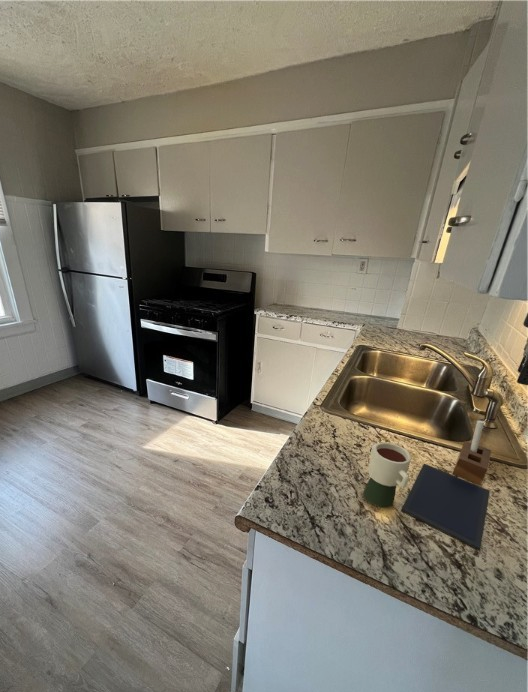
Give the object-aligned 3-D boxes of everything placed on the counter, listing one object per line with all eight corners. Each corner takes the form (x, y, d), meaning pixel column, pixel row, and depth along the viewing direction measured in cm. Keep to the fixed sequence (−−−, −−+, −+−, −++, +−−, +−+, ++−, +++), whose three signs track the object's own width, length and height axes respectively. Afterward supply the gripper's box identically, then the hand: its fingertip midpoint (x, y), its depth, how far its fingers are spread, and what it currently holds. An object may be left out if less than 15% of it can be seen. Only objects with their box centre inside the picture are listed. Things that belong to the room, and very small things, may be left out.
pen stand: (458, 455, 85) (464, 440, 83) (484, 465, 82) (491, 450, 80) (452, 474, 78) (458, 458, 76) (479, 485, 75) (487, 469, 73)
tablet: (423, 465, 81) (423, 463, 81) (488, 492, 73) (490, 490, 73) (400, 511, 67) (401, 508, 67) (479, 551, 59) (480, 547, 59)
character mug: (408, 515, 66) (426, 467, 60) (379, 521, 64) (395, 472, 59) (376, 479, 75) (389, 435, 70) (350, 484, 74) (361, 438, 68)
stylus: (466, 463, 83) (477, 419, 78) (473, 465, 82) (484, 421, 77) (465, 466, 82) (476, 421, 77) (472, 468, 81) (483, 423, 76)
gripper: (584, 314, 57) (545, 393, 64) (576, 304, 67) (543, 373, 74) (531, 308, 62) (500, 383, 69) (530, 299, 72) (503, 365, 79)
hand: (522, 378), depth 71 cm, fingers open, 8 cm apart
